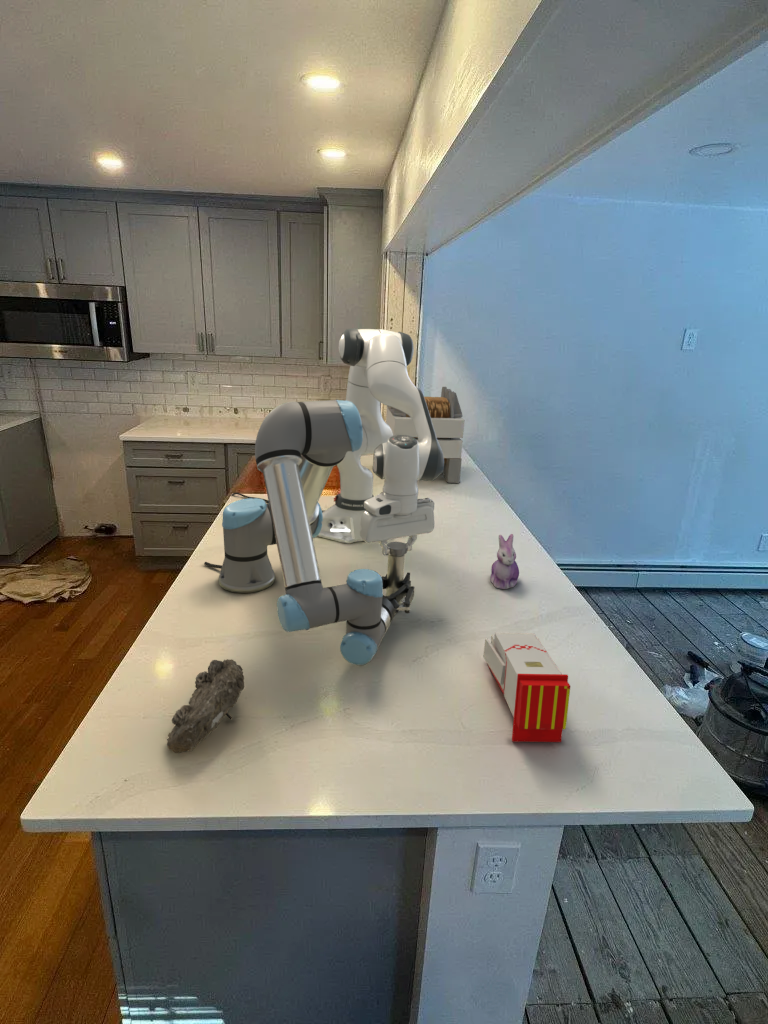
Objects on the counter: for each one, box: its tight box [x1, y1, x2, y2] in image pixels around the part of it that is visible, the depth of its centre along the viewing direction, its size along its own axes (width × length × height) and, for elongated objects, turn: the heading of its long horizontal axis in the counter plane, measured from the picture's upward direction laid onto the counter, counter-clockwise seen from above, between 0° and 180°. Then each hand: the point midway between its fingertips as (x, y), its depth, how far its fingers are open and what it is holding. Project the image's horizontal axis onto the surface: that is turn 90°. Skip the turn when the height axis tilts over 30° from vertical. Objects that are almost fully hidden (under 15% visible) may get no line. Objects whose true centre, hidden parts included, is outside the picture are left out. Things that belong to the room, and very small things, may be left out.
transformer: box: [385, 386, 465, 484], centre depth 268 cm, size 34×33×41 cm
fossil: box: [166, 658, 245, 754], centre depth 106 cm, size 22×10×15 cm
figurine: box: [490, 533, 520, 590], centre depth 164 cm, size 9×10×15 cm
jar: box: [385, 554, 406, 605], centre depth 148 cm, size 4×4×17 cm
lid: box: [386, 541, 408, 556], centre depth 146 cm, size 5×5×2 cm
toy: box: [482, 632, 571, 743], centre depth 116 cm, size 12×13×30 cm
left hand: (399, 575), depth 154 cm, fingers closed on jar, 4 cm apart
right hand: (396, 552), depth 146 cm, fingers closed on lid, 5 cm apart
